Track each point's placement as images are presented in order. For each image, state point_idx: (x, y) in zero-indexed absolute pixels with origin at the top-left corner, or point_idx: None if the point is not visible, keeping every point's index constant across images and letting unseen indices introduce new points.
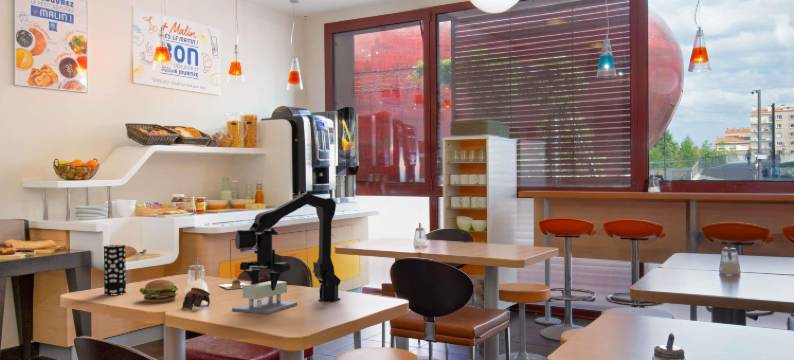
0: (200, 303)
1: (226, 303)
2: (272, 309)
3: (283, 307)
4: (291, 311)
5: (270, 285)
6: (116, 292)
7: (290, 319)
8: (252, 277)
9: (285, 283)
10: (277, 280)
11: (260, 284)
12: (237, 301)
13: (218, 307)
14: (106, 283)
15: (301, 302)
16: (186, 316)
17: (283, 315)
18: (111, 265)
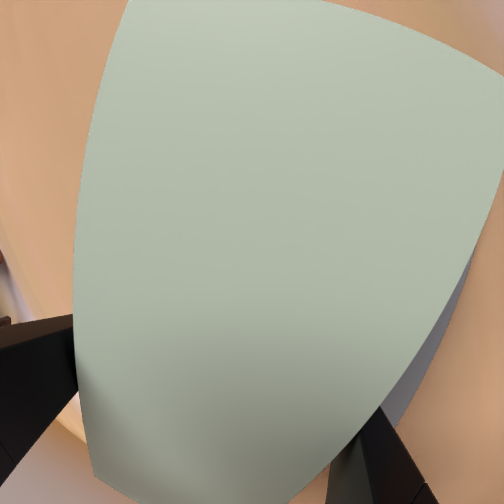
0: (3, 324)
1: (17, 187)
2: (387, 416)
3: (446, 322)
4: (499, 359)
5: (315, 473)
6: None
7: (485, 481)
8: (23, 455)
9: (500, 127)
10: (425, 497)
11: (144, 424)
12: (29, 119)
13: (40, 289)
14: None
15: (466, 12)
16: (78, 431)
17: (458, 445)
18: None
